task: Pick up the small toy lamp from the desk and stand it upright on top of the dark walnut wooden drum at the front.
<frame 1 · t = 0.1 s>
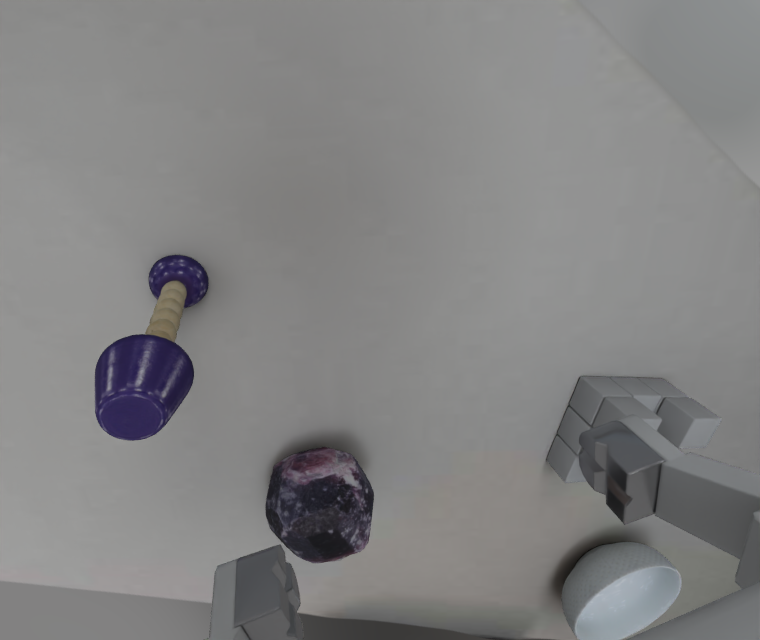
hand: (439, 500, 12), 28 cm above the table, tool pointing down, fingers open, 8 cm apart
grey stepped block: (602, 418, 54), on the table
cereal bowl: (594, 561, 68), on the table
toy lamp: (180, 284, 35), on the table
mineral specimen: (314, 467, 46), on the table
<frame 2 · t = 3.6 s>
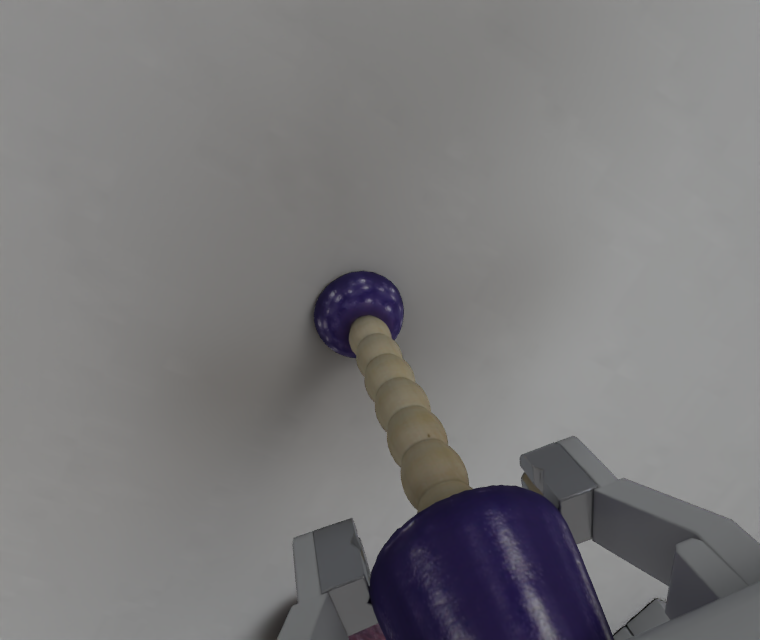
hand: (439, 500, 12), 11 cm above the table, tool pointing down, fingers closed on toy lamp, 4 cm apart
toy lamp: (354, 317, 21), on the table, touching gripper
mineral specimen: (331, 621, 31), on the table
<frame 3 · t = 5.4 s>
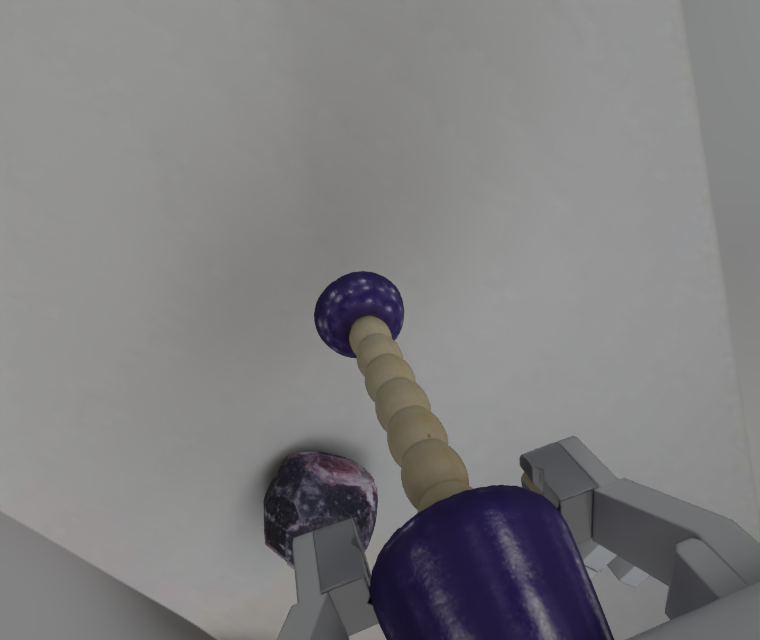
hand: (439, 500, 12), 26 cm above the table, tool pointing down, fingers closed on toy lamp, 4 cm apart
grey stepped block: (554, 530, 58), on the table
toy lamp: (354, 317, 21), point 15 cm above the table, touching gripper
mineral specimen: (313, 473, 44), on the table
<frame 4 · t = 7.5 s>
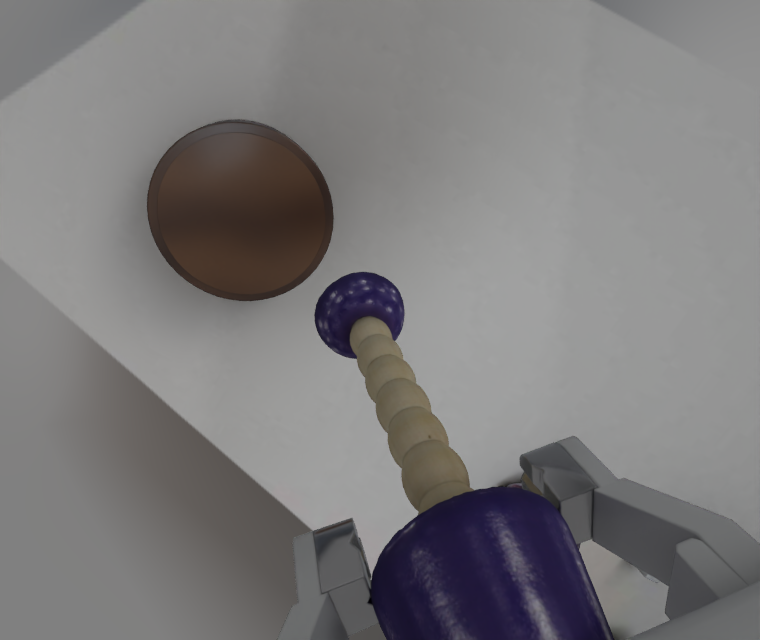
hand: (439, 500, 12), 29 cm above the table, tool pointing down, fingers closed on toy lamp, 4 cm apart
toy lamp: (354, 317, 21), point 17 cm above the table, touching gripper
wooden drum: (246, 204, 35), on the table
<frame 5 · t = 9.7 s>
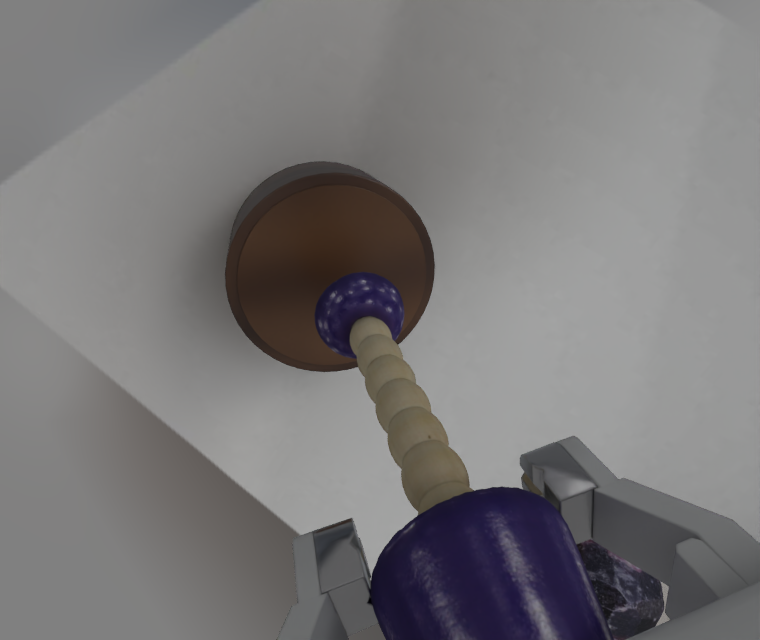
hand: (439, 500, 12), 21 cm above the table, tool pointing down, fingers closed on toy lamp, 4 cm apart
toy lamp: (354, 317, 21), point 10 cm above the table, touching gripper
mineral specimen: (582, 549, 54), on the table
wooden drum: (323, 255, 30), on the table
when the fingers open (16 cm above the table, at t = 11.4 s): toy lamp stays where it is, resting on wooden drum.
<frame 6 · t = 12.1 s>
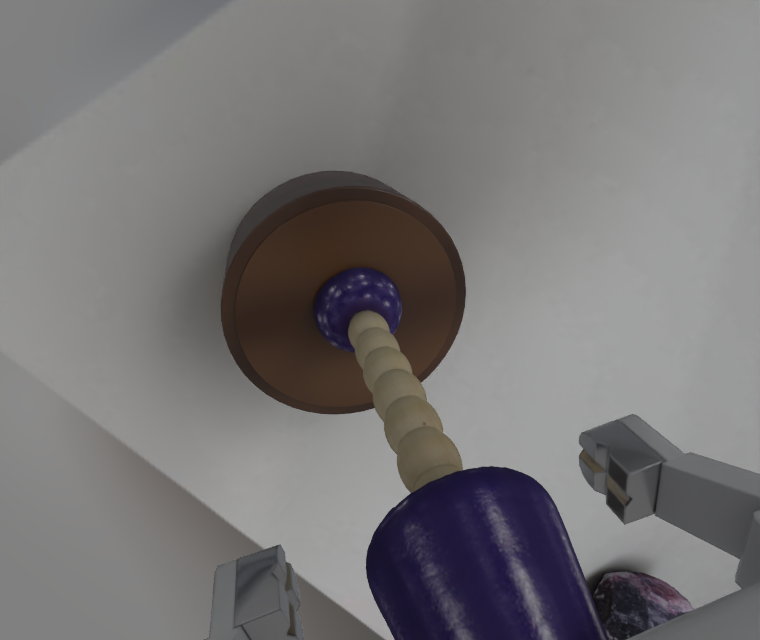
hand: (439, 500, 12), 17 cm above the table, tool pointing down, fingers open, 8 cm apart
toy lamp: (353, 312, 22), point 5 cm above the table, touching wooden drum
mineral specimen: (609, 584, 50), on the table
wooden drum: (335, 278, 26), on the table
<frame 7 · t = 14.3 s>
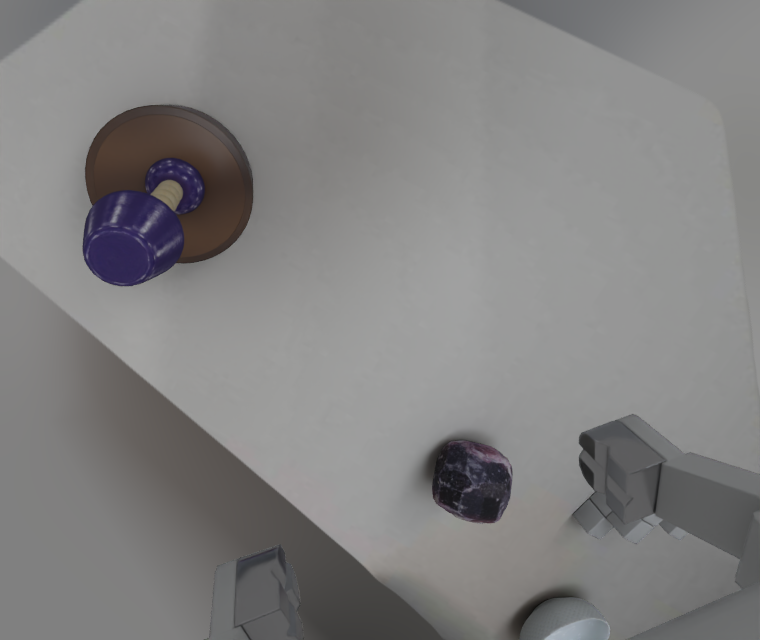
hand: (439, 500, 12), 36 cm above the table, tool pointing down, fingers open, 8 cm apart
grey stepped block: (615, 499, 77), on the table
cereal bowl: (547, 609, 87), on the table
toy lamp: (174, 189, 35), point 5 cm above the table, touching wooden drum
mineral specimen: (457, 456, 63), on the table
wooden drum: (182, 180, 39), on the table
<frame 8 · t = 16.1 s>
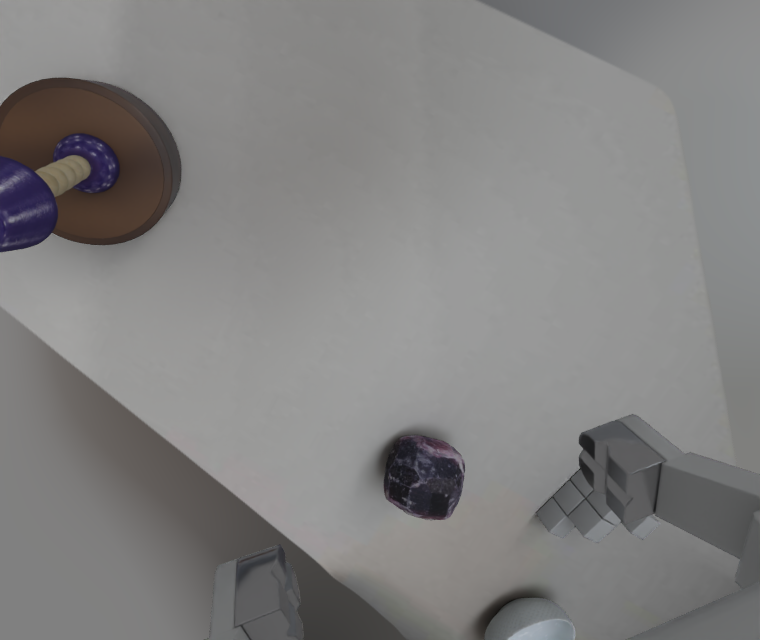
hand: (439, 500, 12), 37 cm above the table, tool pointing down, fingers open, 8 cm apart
grey stepped block: (580, 498, 76), on the table
cereal bowl: (513, 610, 86), on the table
toy lamp: (87, 167, 34), point 5 cm above the table, touching wooden drum
mineral specimen: (412, 451, 62), on the table
wooden drum: (105, 160, 38), on the table
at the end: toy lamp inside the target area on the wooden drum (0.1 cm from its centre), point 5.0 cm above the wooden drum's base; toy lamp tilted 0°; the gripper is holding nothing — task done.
